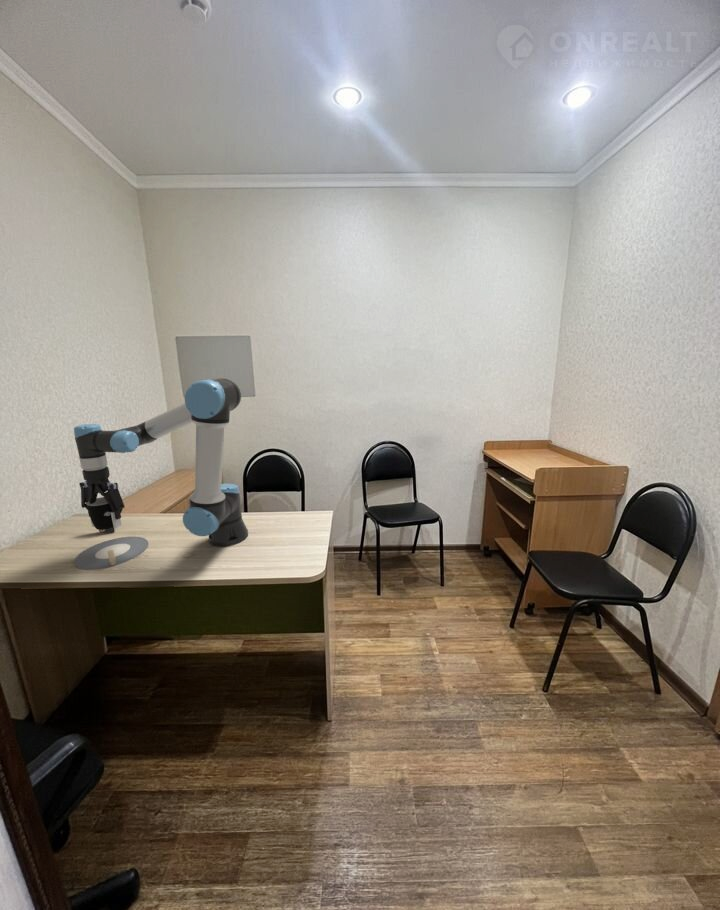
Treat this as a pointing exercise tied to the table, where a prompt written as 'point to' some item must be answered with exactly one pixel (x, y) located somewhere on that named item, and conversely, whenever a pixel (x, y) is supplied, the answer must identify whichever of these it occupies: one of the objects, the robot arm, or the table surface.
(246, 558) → the table surface
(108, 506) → the mug
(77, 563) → the flange base
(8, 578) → the table surface
